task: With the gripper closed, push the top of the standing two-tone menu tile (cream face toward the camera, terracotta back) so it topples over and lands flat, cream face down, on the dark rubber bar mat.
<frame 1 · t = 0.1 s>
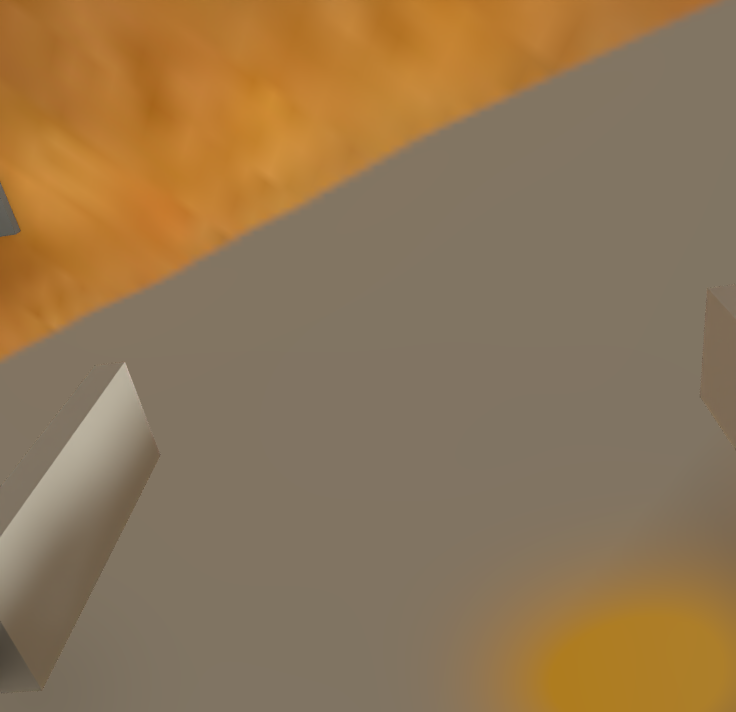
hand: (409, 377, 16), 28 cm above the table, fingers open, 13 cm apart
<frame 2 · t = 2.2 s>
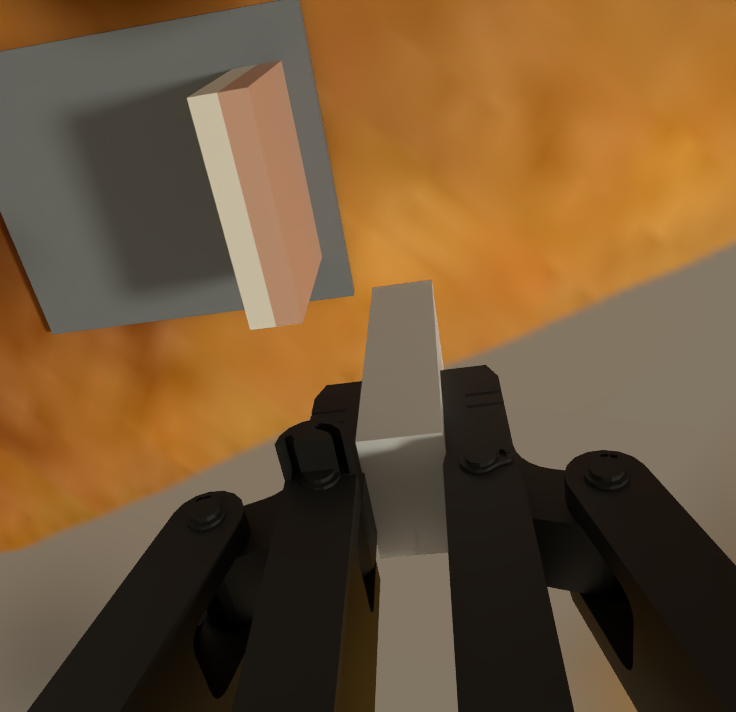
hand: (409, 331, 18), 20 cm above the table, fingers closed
menu tile: (280, 168, 36), point 1 cm above the table, touching bar mat
bar mat: (162, 184, 37), on the table
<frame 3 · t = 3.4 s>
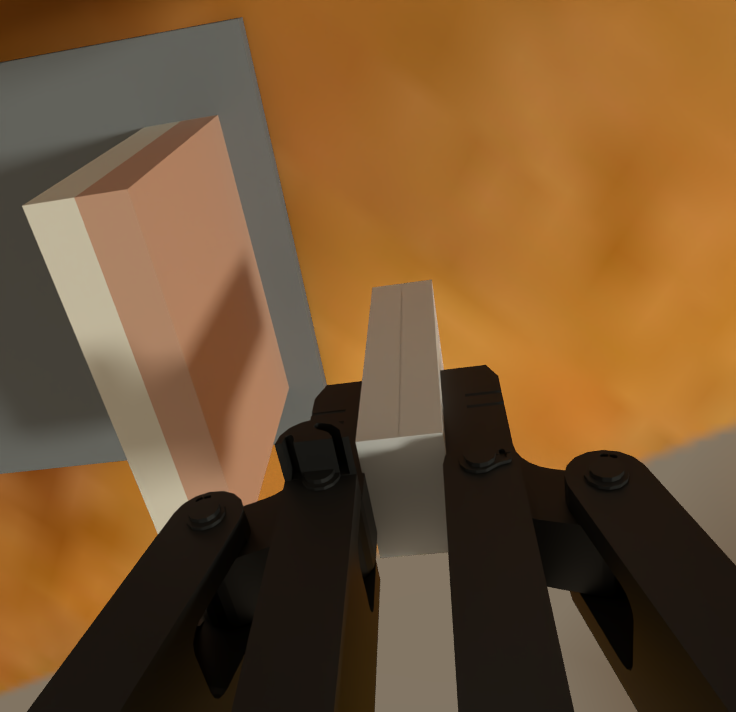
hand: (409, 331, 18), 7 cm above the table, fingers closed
menu tile: (223, 269, 24), point 1 cm above the table, touching bar mat
bar mat: (55, 287, 26), on the table
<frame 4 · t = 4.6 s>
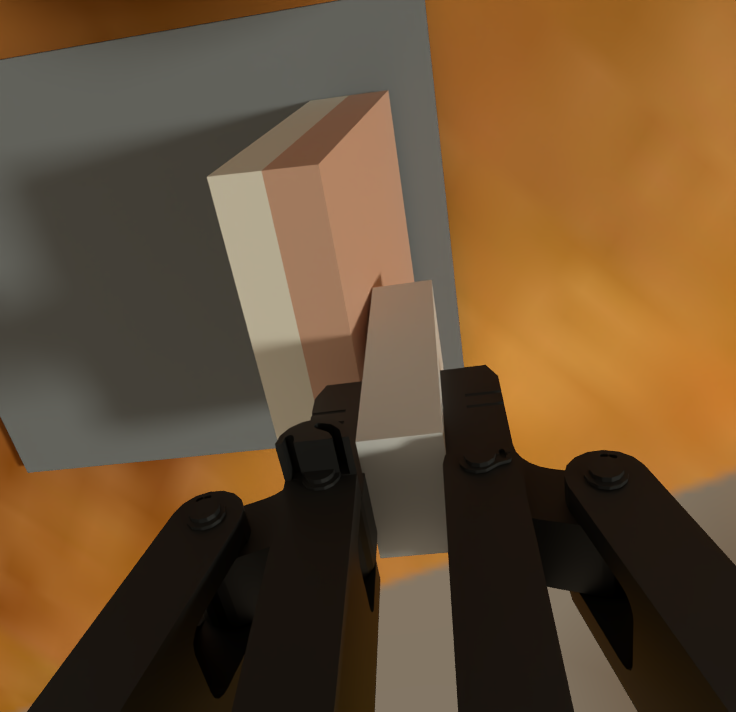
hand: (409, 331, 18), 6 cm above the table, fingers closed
menu tile: (374, 253, 23), point 1 cm above the table, tilted 8°, touching bar mat
bar mat: (192, 269, 25), on the table
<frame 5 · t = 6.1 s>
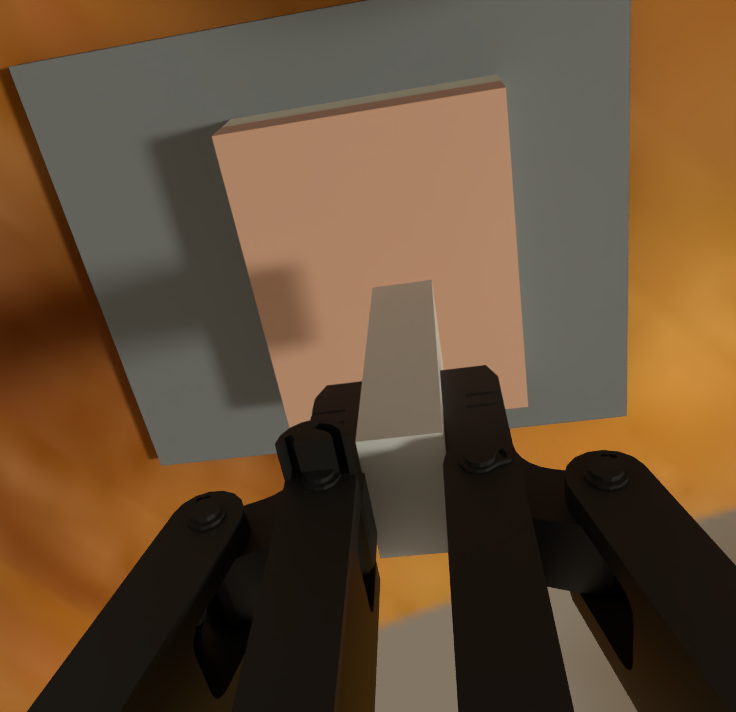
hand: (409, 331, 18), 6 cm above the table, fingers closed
menu tile: (513, 250, 22), point 2 cm above the table, tilted 90°, touching bar mat
bar mat: (350, 253, 24), on the table
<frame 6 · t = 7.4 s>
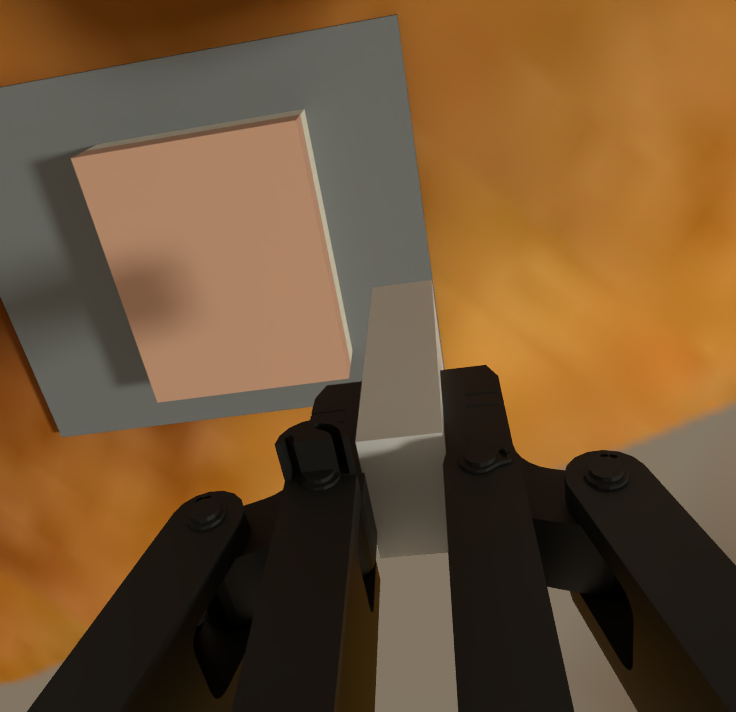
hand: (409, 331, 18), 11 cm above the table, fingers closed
menu tile: (327, 249, 27), point 2 cm above the table, tilted 90°, touching bar mat
bar mat: (207, 253, 29), on the table
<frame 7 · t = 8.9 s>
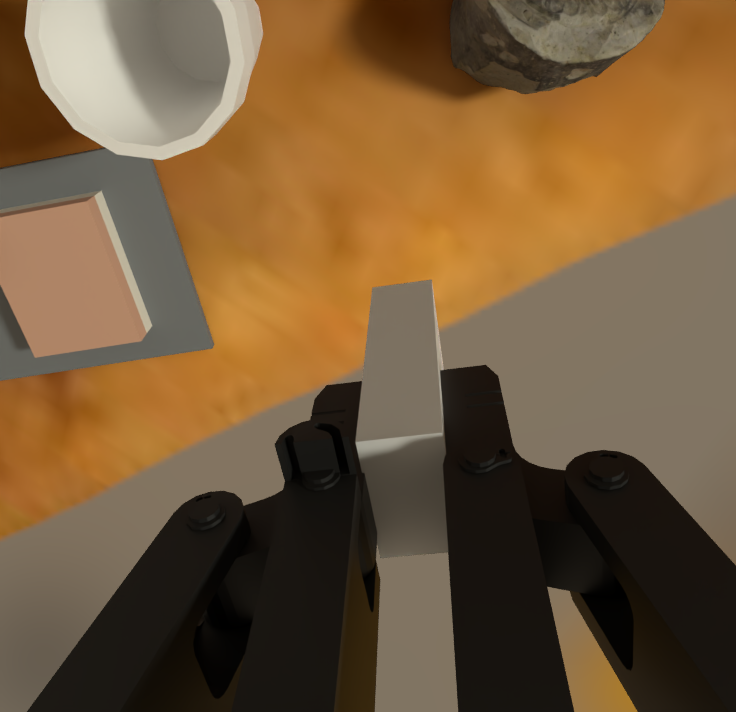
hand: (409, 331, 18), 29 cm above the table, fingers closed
menu tile: (121, 267, 47), point 2 cm above the table, tilted 90°, touching bar mat
foam cup: (210, 26, 42), on the table
bar mat: (61, 270, 50), on the table
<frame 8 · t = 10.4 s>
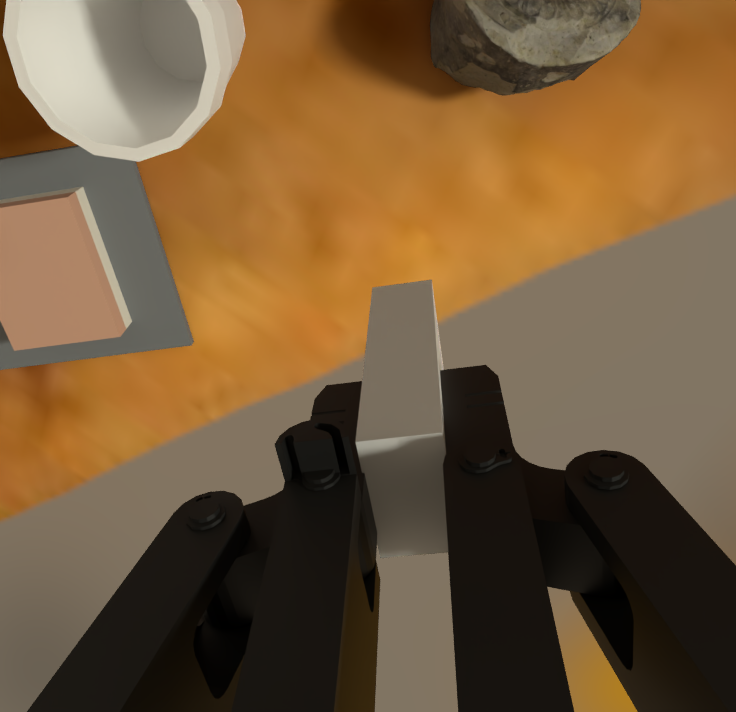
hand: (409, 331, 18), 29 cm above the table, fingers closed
menu tile: (102, 263, 48), point 2 cm above the table, tilted 90°, touching bar mat
foam cup: (193, 27, 42), on the table
bar mat: (42, 264, 50), on the table
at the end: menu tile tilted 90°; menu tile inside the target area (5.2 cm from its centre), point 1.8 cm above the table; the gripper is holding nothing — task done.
